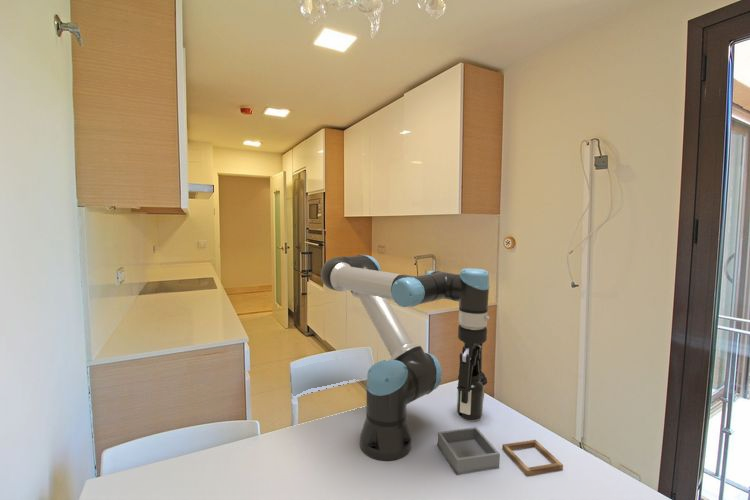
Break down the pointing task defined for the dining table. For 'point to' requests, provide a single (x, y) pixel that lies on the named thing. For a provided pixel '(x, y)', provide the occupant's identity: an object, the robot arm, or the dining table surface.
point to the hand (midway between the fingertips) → (469, 406)
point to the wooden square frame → (537, 469)
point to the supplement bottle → (473, 398)
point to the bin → (468, 450)
